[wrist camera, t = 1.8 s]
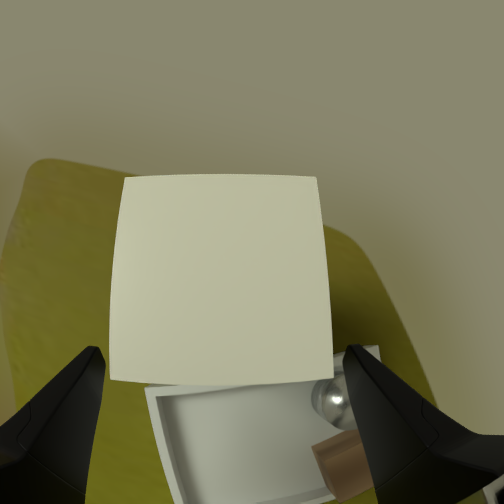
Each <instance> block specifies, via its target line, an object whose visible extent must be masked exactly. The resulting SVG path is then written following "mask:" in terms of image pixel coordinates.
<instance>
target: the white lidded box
mask: <svg viewBox="0 0 504 504" xmlns="http://www.w3.org/2000/svg"><path fill="white" fill-rule="evenodd" d="M109 353H110V379H112V380H121V381H130V382H141V383H155V384H172V385H206V386H225V385H259V384H277V383H290V382H302V381H312V380H321V379H329V378H334V370H333V343H332V324H331V308H330V295H329V282H328V271H327V261H326V251H325V242H324V233H323V224H322V216H321V209H320V201H319V194H318V187H317V181H316V177H307V176H306V177H305V176H286V175H252V174H251V175H250V174H201V175H200V174H198V175H197V174H195V175H162V176H140V177H125V181H124V187H123V192H122V198H121V204H120V211H119V218H118V225H117V232H116V241H115V250H114V259H113V270H112V284H111V301H110V333H109Z"/></svg>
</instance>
